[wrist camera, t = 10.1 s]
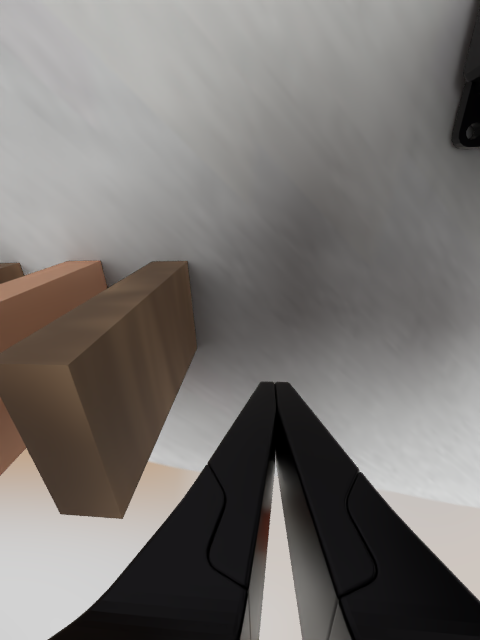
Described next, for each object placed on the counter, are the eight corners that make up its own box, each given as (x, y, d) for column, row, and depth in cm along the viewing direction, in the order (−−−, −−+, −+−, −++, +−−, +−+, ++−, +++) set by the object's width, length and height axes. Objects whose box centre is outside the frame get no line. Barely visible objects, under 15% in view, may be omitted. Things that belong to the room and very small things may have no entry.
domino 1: (92, 345, 16) (-85, 501, 8) (67, 261, 14) (-211, 356, 6) (121, 345, 16) (-29, 506, 8) (100, 260, 14) (-138, 357, 6)
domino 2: (187, 261, 13) (67, 365, 5) (197, 348, 15) (122, 518, 7) (152, 261, 14) (-17, 363, 5) (166, 347, 16) (60, 513, 7)
